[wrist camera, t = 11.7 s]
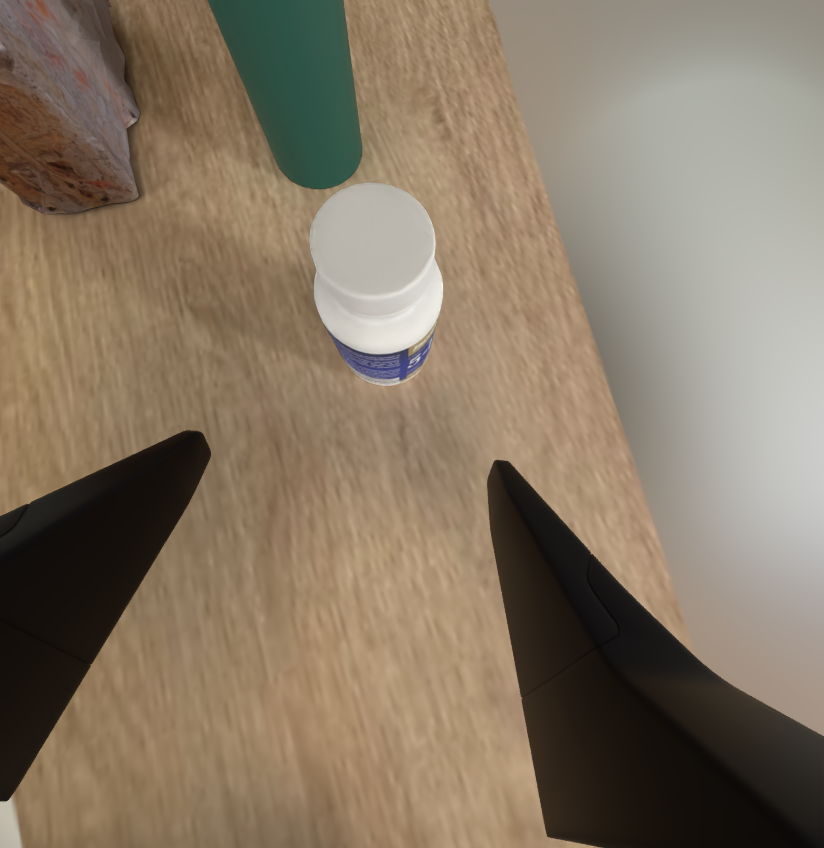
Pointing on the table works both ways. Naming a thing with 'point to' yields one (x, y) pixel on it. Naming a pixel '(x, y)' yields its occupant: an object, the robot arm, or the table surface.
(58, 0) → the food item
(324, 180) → the green bottle
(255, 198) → the table surface
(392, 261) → the pill bottle
